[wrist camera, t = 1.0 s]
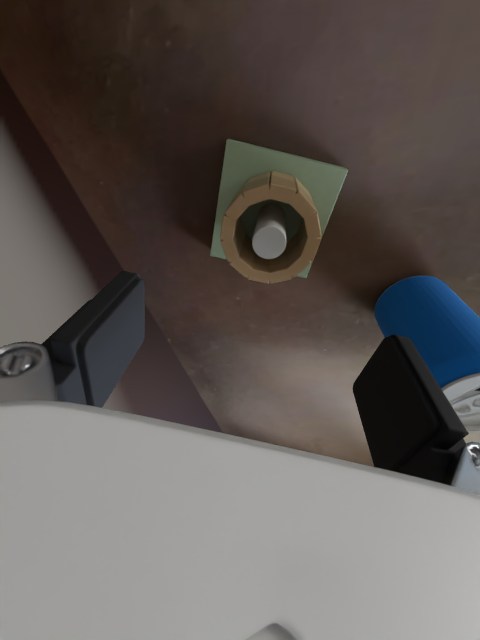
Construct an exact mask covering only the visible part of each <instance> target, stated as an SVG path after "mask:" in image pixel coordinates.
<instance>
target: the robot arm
mask: <svg viewBox="0 0 480 640" xmlns="http://www.w3.org/2000/svg"><path fill="white" fill-rule="evenodd" d="M144 336H145V283H144V280H143V279H140V275H139V274H135V273H131V272H127V271H122V272H121V273H119V274H118V275H117V276H116V277H115V278H114V279H113V280H112V281H111V282H110V283H109V284H108V285H107V286H106V287H104V288H103V289H102V290H101V291H100V292H99V293H98V294H97V295H96V296H95V297H94V298H93V299H92V300H90V301H88V302H87V303H86V304H85V305H83V306H82V307H81V308H80V309H79V310H78V311H77V312H76V313H75V314H74V315H73V316H72V317H70V318H69V319H68V320H67V321H66V322H65V323H64V324H63V325H62V326H61V327H60V328H59V329H57V331H56V332H54V333H53V334H52V335H51V336H50V337H49V338H48V339H47V340H46V341H45V342H43V343H42V344H37V343H34V342H17V343H12V344H8V345H5V346H3V347H0V640H480V443H476V442H470V443H467V444H466V443H465V441H464V439H463V438H464V437H465V436H466V435H468V434H469V433H468V432H467V430H466V428H465V427H464V425H463V423H462V422H461V420H460V419H459V417H458V415H457V414H456V412H455V410H454V409H453V407H452V406H451V404H450V402H449V401H448V399H447V398H446V396H445V394H444V393H443V391H442V389H441V388H440V386H439V385H438V383H437V381H436V380H435V378H434V376H433V375H432V373H431V372H430V370H429V368H428V367H427V365H426V364H425V362H424V360H423V359H422V357H421V355H420V354H419V352H418V351H417V349H416V347H415V346H414V344H413V342H412V341H411V340H410V338H407V337H403V336H399V335H395V334H392V335H390V336H389V337H385V338H384V339H383V341H382V342H381V344H380V345H379V347H378V348H377V350H376V351H375V352H374V354H373V355H372V357H371V358H370V360H369V361H368V363H367V364H366V366H365V367H364V369H363V370H362V372H361V373H360V375H359V376H358V378H357V379H356V381H355V382H354V385H353V393H354V396H355V400H356V404H357V407H358V411H359V414H360V418H361V421H362V425H363V428H364V432H365V436H366V439H367V443H368V446H369V450H370V453H371V457H372V460H373V464H374V467H372V466H367V465H363V464H358V463H354V462H350V461H345V460H341V459H336V458H332V457H328V456H323V455H319V454H314V453H310V452H305V451H301V450H296V449H292V448H287V447H283V446H278V445H274V444H269V443H265V442H260V441H256V440H251V439H247V438H242V437H238V436H233V435H229V434H224V433H219V432H215V431H210V430H206V429H201V428H196V427H192V426H187V425H183V424H178V423H173V422H168V421H164V420H159V419H155V418H150V417H145V416H140V415H135V414H130V413H125V412H120V411H115V410H110V409H105V408H102V407H103V405H104V403H105V402H106V400H107V399H108V397H109V396H110V394H111V392H112V391H113V389H114V388H115V386H116V384H117V383H118V381H119V380H120V378H121V376H122V375H123V373H124V372H125V370H126V368H127V367H128V365H129V363H130V362H131V360H132V359H133V357H134V355H135V354H136V352H137V351H138V349H139V348H140V346H141V344H142V343H143V340H144Z"/></svg>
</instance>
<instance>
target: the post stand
mask: <svg viewBox="0 0 480 640" xmlns="http://www.w3.org/2000/svg"><path fill="white" fill-rule="evenodd" d="M268 171H271V174H272V171H276V172H280V173H284V174H288V175H292V176H293V177H294V178H295V177H296V178H297V179H298V180H299V182H300V183H301V184H302V185H303V186H304V187H305V188H306V189H307V190H308V191H309V193H310V195H311V197H312V200H313V202H314V205H315V207H316V210H317V212H318V217H319V223H320V229H321V234H322V236H323V233H324V231H325V228H326V226H327V223H328V220H329V218H330V215H331V213H332V210H333V208H334V205H335V202H336V200H337V197H338V195H339V192H340V190H341V187H342V184H343V182H344V179H345V177H346V174H347V172H348V169H346V168H345V167H341V166H337V165H333V164H329V163H325V162H321V161H317V160H313V159H309V158H305V157H301V156H297V155H293V154H289V153H285V152H281V151H277V150H273V149H269V148H265V147H261V146H256V145H252V144H248V143H244V142H240V141H236V140H232V139H228V140H226V147H225V154H224V161H223V168H222V176H221V183H220V190H219V197H218V204H217V211H216V218H215V225H214V232H213V239H212V246H211V253H210V255H211V256H215V257H219V258H223V259H226V256H225V253H224V251H223V248H222V245H221V243H220V240H221V239H220V233H221V227H222V220H223V215H224V214H225V211H226V210H227V208H228V206H229V204H230V203H231V201H232V199H233V198H234V196H235V195H236V193H237V192H238V191H239V190H240V188H241V187H242V186H243V185H244V184H245V182H246V181H247V180H249V179H250V178H251V177H254V176H257V175H260V174H263V173H266V172H268ZM301 220H302V216H301V215H300V214H299V213H298V212H297V211H296V210H295V209H294V208H293V207H292V206H291V205H290V204H288V203H283V202H279V201H275V200H271V199H268V200H265V201H262V202H259V203H256V204H253V205H250V206H249V207H248V208H247V209H246V210H245V211H244V213H243V214H242V216H241V221H242V224H243V227H244V230H245V233H246V235H248V236H249V237H250V238H251V239H252V246H253V249H254V251H255V253H256V254H257V255H258V256H260V257H262V258H265V259H273V258H276V257H278V256H280V255H281V254H282V253H283V251H284V250H285V247H286V243H287V242H288V241H289V240H290V239H291V238H292V237H293V236H294V235H295V234H296V233H297V232H298V229H299V226H300V223H301ZM322 236H321V238H322ZM312 262H313V261H311V264H312ZM311 264H310V265H308V266H307V267H306V268H305V269H304V270H303V271H301V272H300V273H299V274H298V275H297V276H299V277H303V278H306V277H307V274H308V272H309V269H310V267H311Z"/></svg>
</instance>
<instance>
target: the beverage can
mask: <svg viewBox="0 0 480 640" xmlns="http://www.w3.org/2000/svg"><path fill="white" fill-rule="evenodd" d="M375 318H376V320H377V322H378V324H379V326H380V329H381V331H382V333H383V335H384V337H389V336H390V335H392V334H395V335H399V336H403V337H407V338H410V340H411V341H412V342H413V344H414V346H415V347H416V349H417V351H418V352H419V354H420V355H421V357H422V359H423V360H424V362H425V364H426V365H427V367H428V368H429V370H430V372H431V373H432V375H433V376H434V378H435V380H436V381H437V383H438V385H439V386H440V388H441V389H442V391H443V393H444V394H445V396H446V398H447V399H448V401H449V402H450V404H451V406H452V407H453V409H454V410H455V412H456V414H457V415H458V417H459V419H460V420H461V422H462V423H463V425H464V427H465V428H466V430H467V431H480V317H479V316H478V315H476V314H475V313H474V312H473V311H472V310H471V309H470V308H469V307H468V306H467V305H466V304H465V303H464V302H463V301H462V300H461V299H460V298H459V297H458V296H457V295H456V294H455V293H454V292H453V291H452V290H451V289H450V288H449V287H448V286H447V285H446V284H445V283H444V282H443V281H441V280H439V279H437V278H435V277H431V276H413V277H409V278H406V279H403V280H400V281H398V282H396V283H395V284H393V285H391V286H390V287H389V288H388V289H386V290H385V291H384V292H383V293H382V295H381V296H380V297H379V299H378V301H377V303H376V306H375Z"/></svg>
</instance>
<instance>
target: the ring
mask: <svg viewBox="0 0 480 640" xmlns="http://www.w3.org/2000/svg"><path fill="white" fill-rule="evenodd" d="M268 199H271V200H275V201H279V202H283V203H288V204H290V205H291V206H292V207H293V208H294V209H295V210H296V211H297V212H298V213H299V214H300V215H301V216H302V220H301V223H300V226H299V229H298V232H297V233H296V234H295V235H294V236H293V237H292V238H291V239H290V240H289V241H288V242H287V243H286V247H285V250H284V251H283V253H282V254H281V255H280V256H278V257H276V258H273V259H265V258H262V257H260V256H258V255H257V254H256V253H255V251H254V249H253V246H252V239H251V238H250V237H249V236H248V235H246V233H245V230H244V227H243V224H242V221H241V216H242V214H243V213H244V211H245V210H246V209H247V208H248V207H249V206H250V205H253V204H256V203H259V202H262V201H265V200H268ZM321 236H322V234H321V229H320V223H319V217H318V212H317V210H316V207H315V205H314V202H313V200H312V197H311V195H310V193H309V191H308V190H307V189H306V188H305V187H304V186H303V185H302V184H301V183H300V182H299V180H298V179H297V178H296V177H295V178H294V177H293V176H292V175H288V174H284V173H280V172H276V171H272V174H271V171H268V172H266V173H263V174H260V175H257V176H254V177H251V178H250V179H249V180H247V181H246V182H245V184H244V185H243V186H242V187H241V188H240V190H239V191H238V192H237V193H236V195H235V196H234V198H233V199H232V201H231V203H230V204H229V206H228V208H227V210H226V211H225V214H224V215H223V220H222V227H221V233H220V239H221V240H220V243H221V245H222V248H223V251H224V253H225V256H226V259H227V261H228V262H230V263H229V264H230V265H231V266H232V267H233V268H235V269H236V270H237V271H238V272H239V273H240V274H242V275H243V276H244V277H245V278H246V277H247V276H248V277H247V279H250V280H254V281H258V282H262V283H267V284H269V281H270V283H271V284H272V283H276V282H280V281H284V280H289V279H292V276H293V277H295V276H297V275H298V274H299V273H300V272H301V271H303V270H304V269H305V268H306V267H307V266H308V265H310V264H311V261H313V260H314V257H315V255H316V252H317V249H318V247H319V244H320V242H321Z"/></svg>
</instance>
